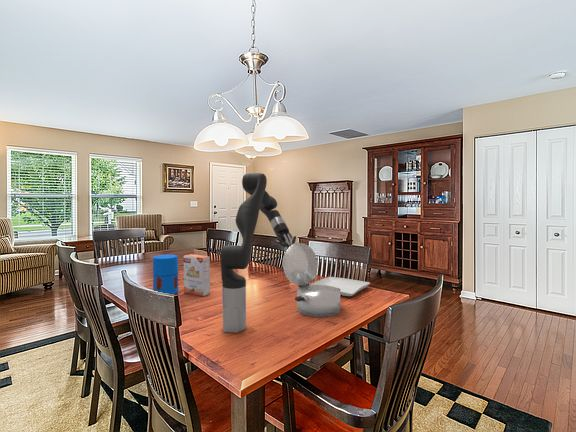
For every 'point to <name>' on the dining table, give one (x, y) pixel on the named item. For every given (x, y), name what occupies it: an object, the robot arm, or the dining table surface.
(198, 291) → the cracker box
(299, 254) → the lid
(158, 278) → the thermos
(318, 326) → the dining table surface
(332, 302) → the pot
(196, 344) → the dining table surface
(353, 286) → the square plate
